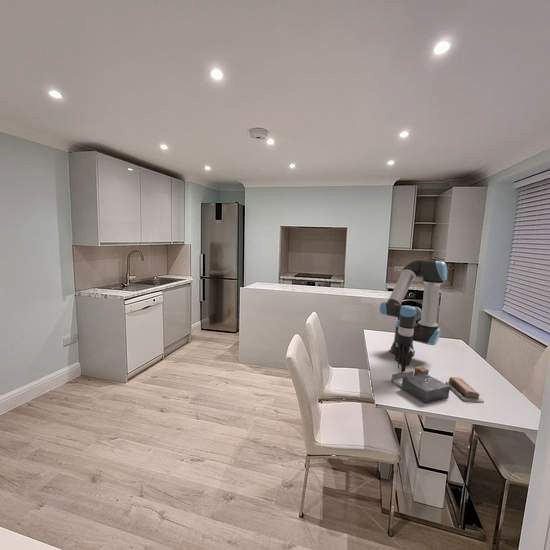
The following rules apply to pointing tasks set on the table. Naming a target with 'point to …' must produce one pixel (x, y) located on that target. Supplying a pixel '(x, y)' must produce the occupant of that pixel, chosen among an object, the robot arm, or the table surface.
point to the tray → (401, 377)
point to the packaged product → (463, 390)
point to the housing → (425, 388)
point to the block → (420, 371)
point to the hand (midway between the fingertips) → (400, 376)
